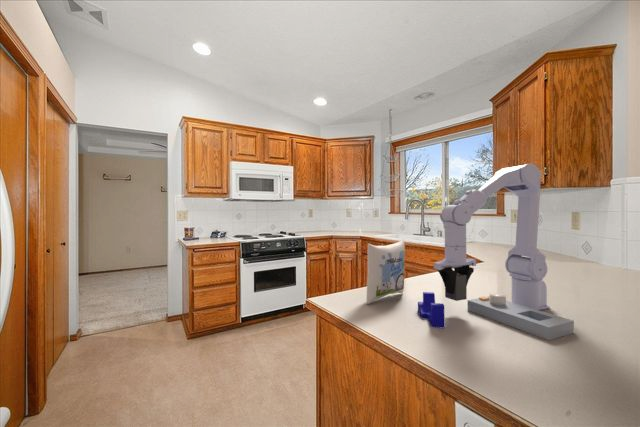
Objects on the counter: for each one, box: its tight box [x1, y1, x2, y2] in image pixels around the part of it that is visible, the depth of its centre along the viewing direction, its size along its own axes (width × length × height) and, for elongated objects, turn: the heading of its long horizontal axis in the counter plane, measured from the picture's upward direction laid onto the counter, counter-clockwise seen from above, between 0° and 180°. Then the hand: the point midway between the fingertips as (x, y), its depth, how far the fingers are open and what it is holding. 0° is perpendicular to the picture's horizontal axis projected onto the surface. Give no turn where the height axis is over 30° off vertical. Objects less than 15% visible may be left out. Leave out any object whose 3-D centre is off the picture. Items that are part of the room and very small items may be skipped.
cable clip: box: [417, 291, 445, 328], centre depth 80 cm, size 12×4×6 cm, turn 171°
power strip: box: [467, 292, 575, 341], centre depth 78 cm, size 10×22×6 cm, turn 22°
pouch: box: [366, 239, 406, 305], centre depth 98 cm, size 8×19×20 cm, turn 124°
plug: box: [444, 273, 468, 302], centre depth 83 cm, size 4×4×7 cm
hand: (455, 292), depth 83 cm, fingers closed on plug, 4 cm apart
